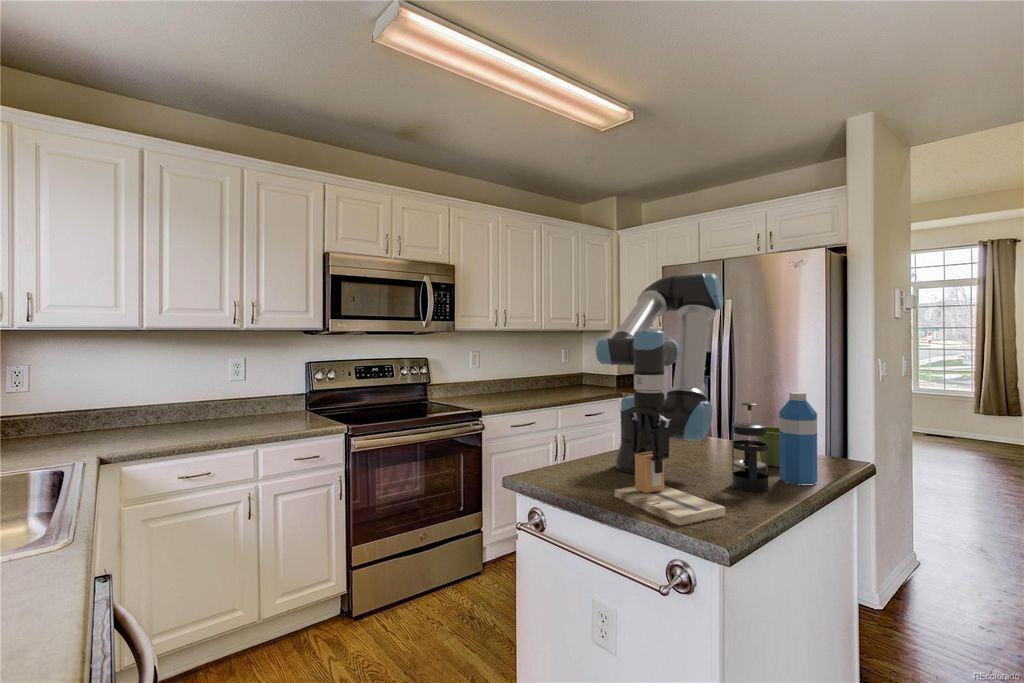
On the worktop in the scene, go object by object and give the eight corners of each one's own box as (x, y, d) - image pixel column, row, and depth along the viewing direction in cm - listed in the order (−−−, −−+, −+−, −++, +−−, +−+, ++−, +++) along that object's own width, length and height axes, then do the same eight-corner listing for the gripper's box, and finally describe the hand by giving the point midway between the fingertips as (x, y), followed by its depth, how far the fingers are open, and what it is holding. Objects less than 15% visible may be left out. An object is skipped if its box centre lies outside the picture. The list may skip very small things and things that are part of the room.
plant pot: (780, 471, 158) (779, 434, 158) (745, 463, 169) (745, 428, 169) (803, 466, 164) (803, 430, 164) (769, 458, 175) (769, 425, 174)
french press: (729, 480, 149) (729, 400, 149) (765, 483, 146) (765, 401, 146) (733, 492, 138) (733, 405, 137) (773, 495, 135) (772, 406, 135)
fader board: (614, 497, 134) (614, 489, 134) (656, 489, 140) (656, 482, 140) (679, 525, 113) (679, 516, 113) (725, 515, 120) (725, 506, 120)
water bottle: (772, 478, 150) (771, 392, 150) (796, 475, 153) (795, 390, 153) (800, 487, 141) (799, 395, 141) (825, 483, 145) (824, 393, 144)
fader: (635, 488, 133) (634, 452, 133) (653, 485, 135) (653, 450, 135) (645, 492, 129) (645, 455, 129) (664, 489, 132) (664, 453, 132)
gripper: (616, 389, 138) (616, 476, 138) (661, 395, 123) (661, 494, 123) (638, 387, 141) (638, 473, 142) (685, 393, 126) (685, 489, 126)
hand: (649, 482), depth 132 cm, fingers closed on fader, 4 cm apart
